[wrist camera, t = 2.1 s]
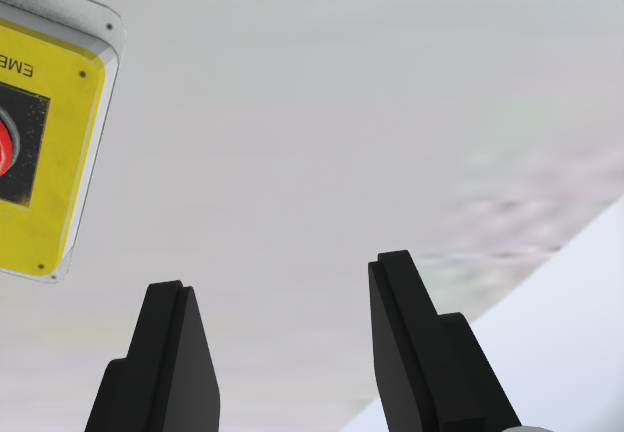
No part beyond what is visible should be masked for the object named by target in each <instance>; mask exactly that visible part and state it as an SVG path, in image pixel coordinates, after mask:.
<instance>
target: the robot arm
mask: <svg viewBox="0 0 624 432" xmlns="http://www.w3.org/2000/svg"><path fill="white" fill-rule="evenodd" d="M368 274H369V290H370V306H371V323H372V339H373V355H374V369H375V376H376V382H377V386H378V390H379V394H380V398H381V402H382V406H383V410H384V414H385V417H386V421H387V425H388V429H389V432H553V431H550V430H547V429H544V428H540V427H530V426H522V425H521V423H520V421H519V419H518V417H517V415H516V413H515V411H514V409H513V407H512V406H511V404H510V402H509V400H508V398H507V396H506V394H505V392H504V391H503V388H502V387H501V385H500V383H499V381H498V379H497V377H496V375H495V373H494V371H493V370H492V368H491V366H490V364H489V362H488V360H487V358H486V356H485V354H484V353H483V351H482V349H481V347H480V345H479V343H478V341H477V339H476V337H475V335H474V334H473V332H472V330H471V328H470V326H469V324H468V322H467V320H466V319H465V317H464V316H463V314H461V313H460V312H457V313H449V314H442V315H438V314H437V312H436V310H435V308H434V305H433V303H432V301H431V299H430V297H429V295H428V292H427V290H426V288H425V286H424V284H423V282H422V279H421V277H420V275H419V273H418V271H417V269H416V266H415V264H414V262H413V260H412V258H411V256H410V254H409V252H408V250H401V251H393V252H386V253H379V254H378V261H376V262H369V263H368ZM219 417H220V394H219V388H218V384H217V380H216V376H215V372H214V368H213V364H212V360H211V356H210V352H209V348H208V344H207V340H206V336H205V332H204V328H203V324H202V320H201V316H200V312H199V308H198V304H197V301H196V297H195V293H194V289H193V287H192V286H189V287H183V284H182V283H181V281H180V280H176V281H169V282H161V283H154V284H150V285H149V286H148V288H147V291H146V295H145V298H144V301H143V305H142V308H141V311H140V314H139V318H138V321H137V324H136V328H135V331H134V334H133V337H132V341H131V344H130V347H129V350H128V354H127V357H126V358H121V359H114V360H112V361H110V362H109V364H108V366H107V368H106V370H105V373H104V376H103V379H102V382H101V384H100V387H99V390H98V393H97V396H96V399H95V402H94V405H93V408H92V411H91V414H90V416H89V419H88V422H87V425H86V428H85V431H84V432H218V429H219Z"/></svg>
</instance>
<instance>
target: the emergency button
mask: <svg viewBox="0 0 624 432" xmlns="http://www.w3.org/2000/svg"><path fill="white" fill-rule="evenodd" d="M125 44H126V26H125V24H124V22H123V20H122V18H121V16H120V15H119V14H117V13H116V12H115V11H113V10H112V9H110V8H108V7H106V6H103V5H101V4H98V3H95V2H93V1H90V0H0V272H4V273H8V274H12V275H16V276H20V277H23V278H27V279H31V280H35V281H39V282H43V283H57V282H59V281H61V280H63V279H64V278H65V276H66V275H67V273H68V271H69V269H70V265H71V261H72V257H73V253H74V249H75V245H76V241H77V237H78V233H79V229H80V224H81V220H82V216H83V212H84V208H85V204H86V200H87V196H88V192H89V188H90V184H91V180H92V176H93V172H94V168H95V164H96V160H97V156H98V152H99V148H100V144H101V140H102V136H103V132H104V128H105V124H106V120H107V116H108V112H109V108H110V104H111V100H112V96H113V92H114V88H115V84H116V80H117V76H118V72H119V68H120V64H121V60H122V56H123V52H124V48H125Z"/></svg>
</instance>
